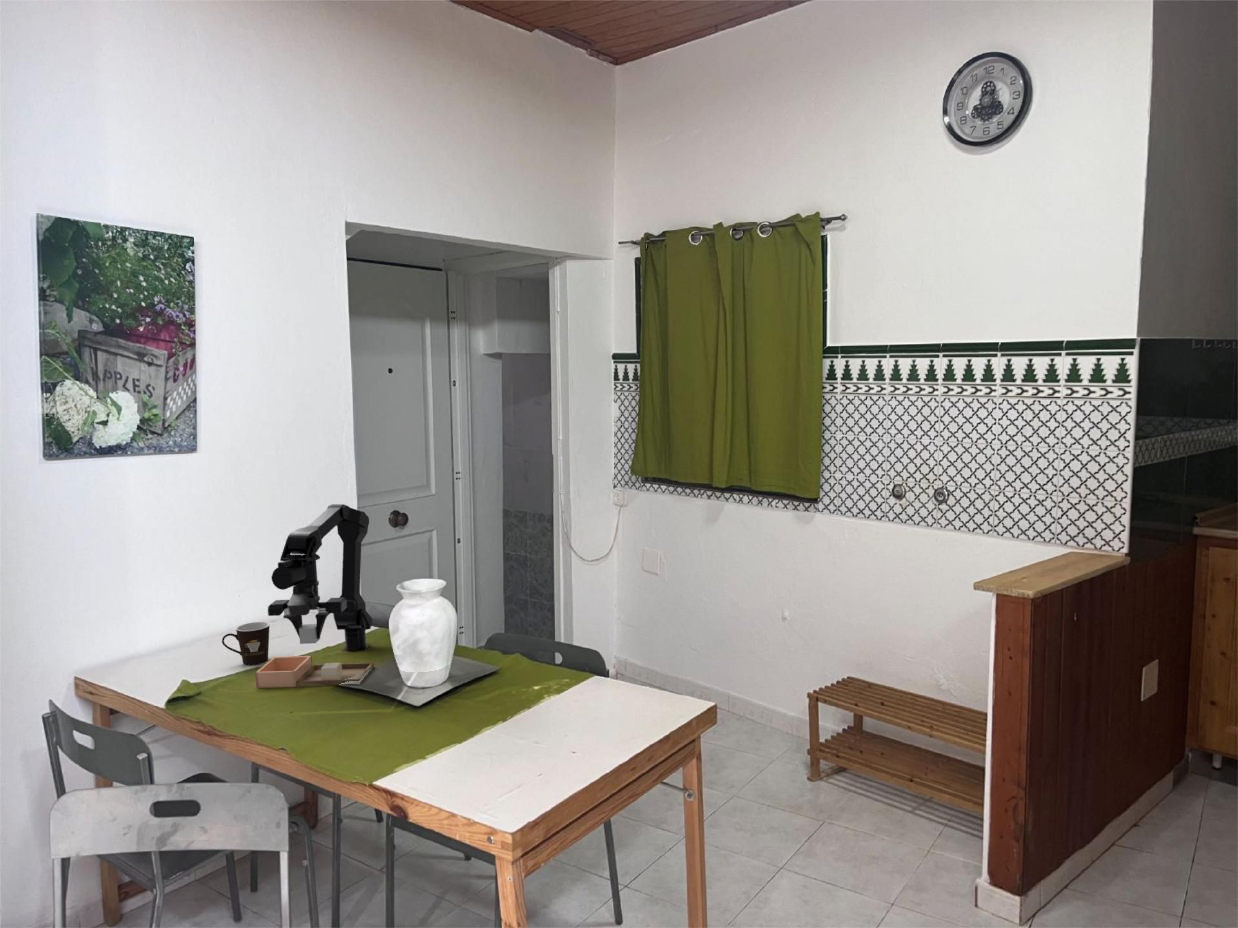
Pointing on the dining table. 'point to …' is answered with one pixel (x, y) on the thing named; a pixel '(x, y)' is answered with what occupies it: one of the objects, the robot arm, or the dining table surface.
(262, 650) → the coffee mug
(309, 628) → the pale grey matte cube
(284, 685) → the pink storage bin
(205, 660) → the dining table surface
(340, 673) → the beige cube
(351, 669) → the parts tray
